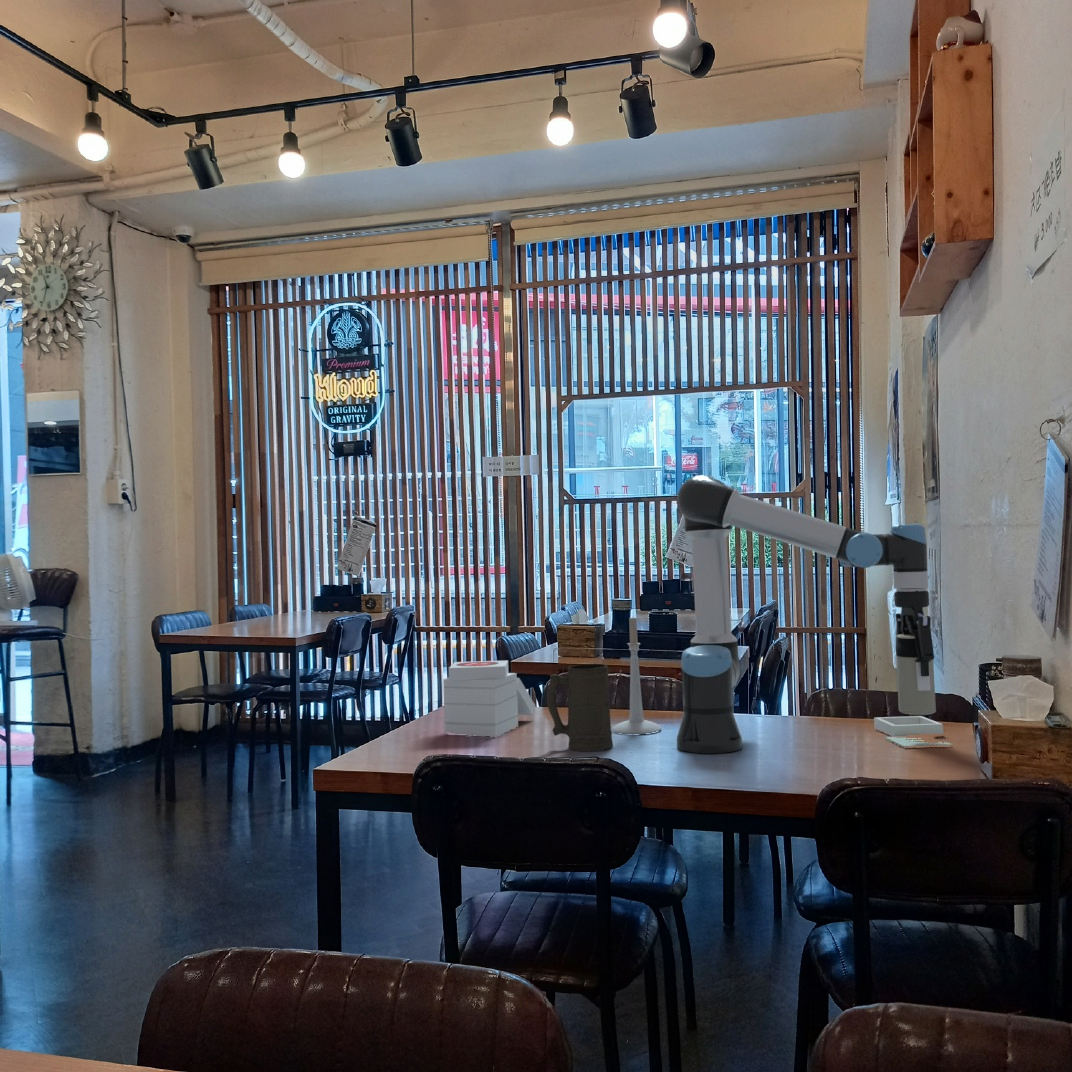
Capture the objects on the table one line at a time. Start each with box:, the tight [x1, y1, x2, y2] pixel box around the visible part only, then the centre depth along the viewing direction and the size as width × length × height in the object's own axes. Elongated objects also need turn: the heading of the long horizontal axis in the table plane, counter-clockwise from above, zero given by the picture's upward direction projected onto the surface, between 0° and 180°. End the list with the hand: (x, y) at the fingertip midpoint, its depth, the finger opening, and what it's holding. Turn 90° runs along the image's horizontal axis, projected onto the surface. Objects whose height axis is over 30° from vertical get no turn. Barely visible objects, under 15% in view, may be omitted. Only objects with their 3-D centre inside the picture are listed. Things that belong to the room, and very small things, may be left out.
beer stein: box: [546, 663, 614, 752], centre depth 222 cm, size 15×11×20 cm
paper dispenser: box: [442, 659, 536, 738], centre depth 254 cm, size 19×30×18 cm, turn 158°
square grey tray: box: [873, 715, 944, 736], centre depth 227 cm, size 12×12×3 cm
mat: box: [884, 736, 953, 747], centre depth 215 cm, size 11×11×1 cm
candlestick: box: [611, 617, 662, 735], centre depth 243 cm, size 13×13×30 cm
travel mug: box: [895, 634, 937, 716], centre depth 215 cm, size 8×8×18 cm
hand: (915, 687), depth 215 cm, fingers closed on travel mug, 8 cm apart
